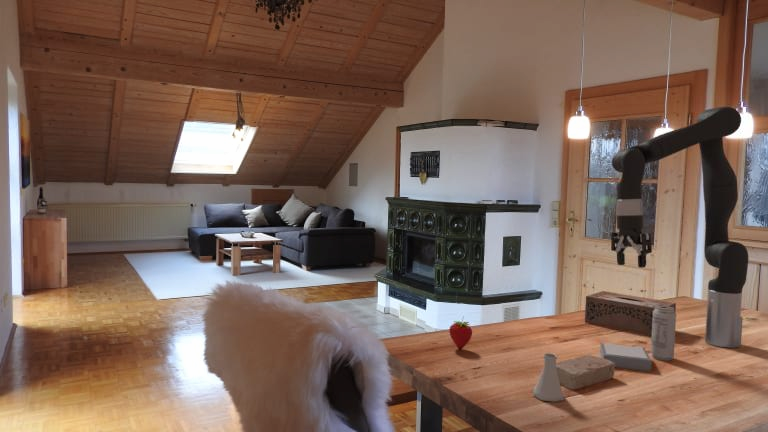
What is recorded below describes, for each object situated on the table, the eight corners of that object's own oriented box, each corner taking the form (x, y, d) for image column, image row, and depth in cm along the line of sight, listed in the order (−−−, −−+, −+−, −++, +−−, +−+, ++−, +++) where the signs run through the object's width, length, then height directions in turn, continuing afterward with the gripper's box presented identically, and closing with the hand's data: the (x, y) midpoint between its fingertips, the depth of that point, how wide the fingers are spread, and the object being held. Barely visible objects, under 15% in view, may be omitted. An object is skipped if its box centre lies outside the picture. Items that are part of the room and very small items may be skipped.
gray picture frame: (644, 357, 157) (644, 347, 156) (650, 371, 145) (651, 359, 145) (600, 352, 160) (600, 342, 160) (603, 365, 149) (603, 354, 149)
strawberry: (457, 344, 166) (458, 312, 166) (476, 350, 160) (477, 317, 160) (444, 347, 162) (445, 315, 162) (463, 354, 157) (464, 320, 156)
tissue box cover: (584, 323, 196) (585, 296, 195) (601, 316, 206) (602, 291, 205) (659, 338, 178) (661, 309, 177) (674, 331, 188) (676, 302, 187)
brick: (573, 391, 131) (574, 372, 131) (546, 380, 138) (547, 362, 138) (615, 379, 140) (616, 362, 139) (588, 370, 147) (589, 353, 146)
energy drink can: (678, 360, 155) (681, 309, 154) (660, 361, 153) (663, 310, 152) (663, 354, 161) (665, 304, 160) (645, 355, 159) (648, 305, 158)
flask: (528, 390, 130) (529, 350, 129) (557, 390, 131) (558, 350, 130) (539, 403, 123) (541, 360, 122) (569, 402, 123) (571, 360, 123)
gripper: (657, 213, 160) (659, 267, 161) (622, 213, 174) (624, 263, 174) (637, 214, 158) (639, 269, 158) (603, 214, 172) (605, 264, 172)
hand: (631, 266), depth 166 cm, fingers open, 8 cm apart
